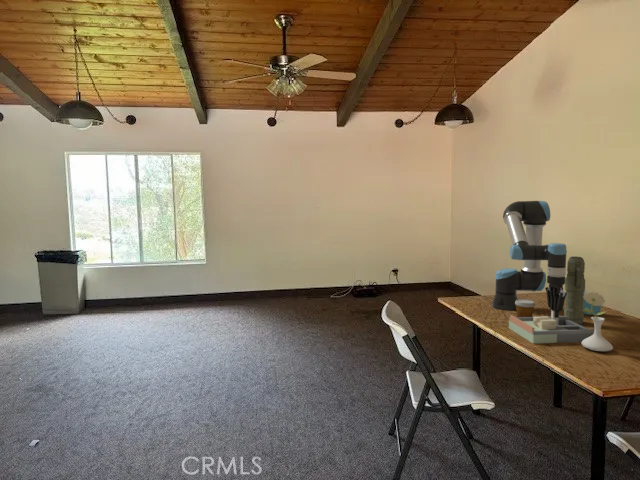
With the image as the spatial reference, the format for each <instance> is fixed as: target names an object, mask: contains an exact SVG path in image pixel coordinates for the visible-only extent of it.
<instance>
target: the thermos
mask: <svg viewBox="0 0 640 480" xmlns="http://www.w3.org/2000/svg"><path fill="white" fill-rule="evenodd" d="M584 259H585V258H584V257H582V256H570V257H569V258H568V260H567V263H566V265H567V267H566V272H567V273H566V276H565V284H564V290H565V292H566V293H567V295H566V297H565V303H564V304H565V306H564V307H563V316H568V320H570V321H572V322H575V323H577V324H579V325H581V326H582V325H583V324H584V320H585V314H584V311H583V296H584V292H586V279H585V269H586V268H585V265H586V264H585V263H586V262H585V260H584Z"/></svg>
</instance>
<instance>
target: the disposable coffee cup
mask: <svg viewBox="0 0 640 480" xmlns="http://www.w3.org/2000/svg"><path fill="white" fill-rule="evenodd" d="M517 299H518V298H517ZM515 304H516V317H533V315H534V308H535V306H536V304H535V301H533V300H532V299H527V298H526V299H524V298H522V299H521V298H519V299H518V300H516V302H515Z"/></svg>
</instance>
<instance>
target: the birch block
mask: <svg viewBox="0 0 640 480" xmlns="http://www.w3.org/2000/svg"><path fill="white" fill-rule="evenodd" d="M532 317H533V325H535V326H537V327H538V328H540V329H556V320H554V319H552V318H550V317H548V316H546V315H545V316H544V315H543V316H532Z"/></svg>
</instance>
